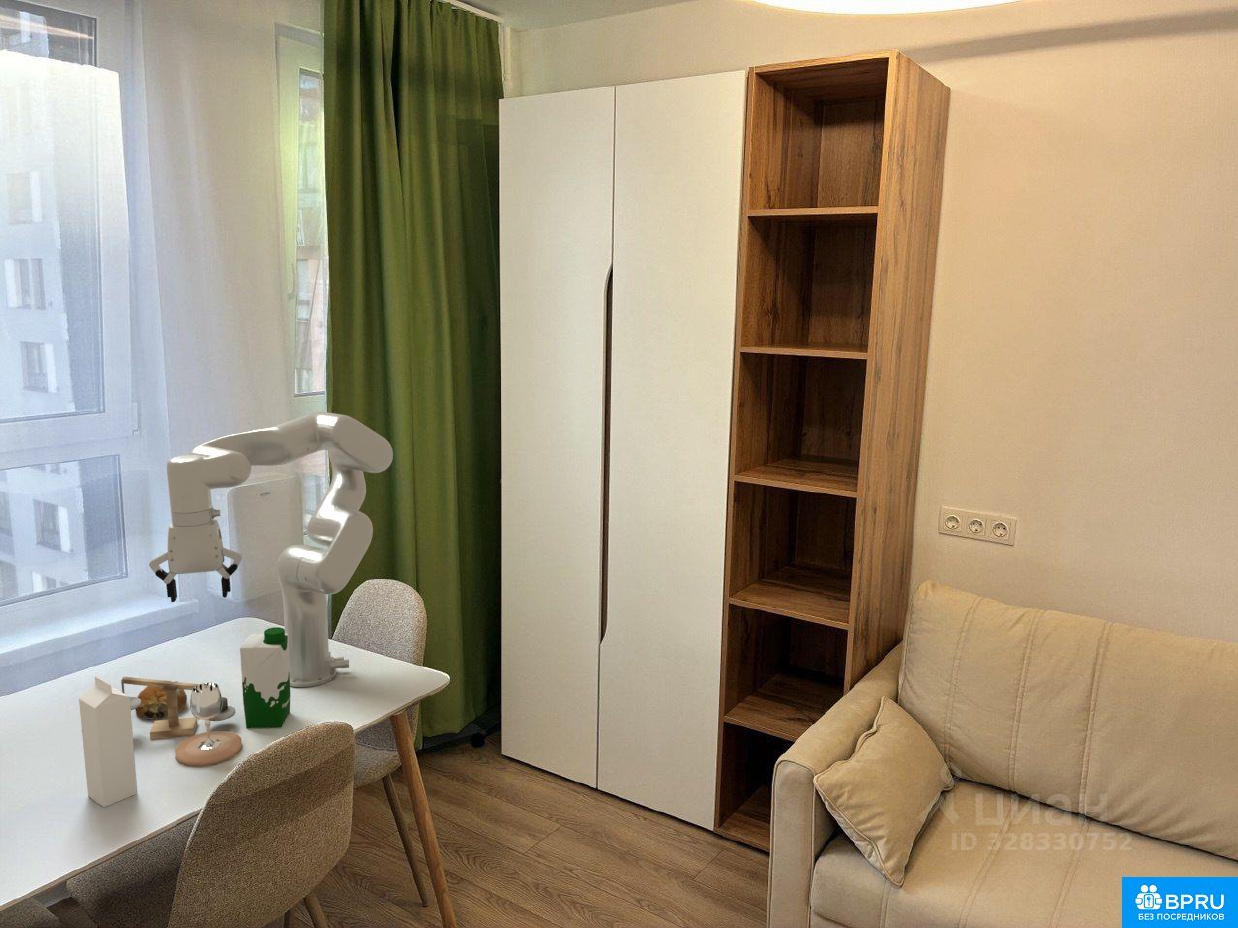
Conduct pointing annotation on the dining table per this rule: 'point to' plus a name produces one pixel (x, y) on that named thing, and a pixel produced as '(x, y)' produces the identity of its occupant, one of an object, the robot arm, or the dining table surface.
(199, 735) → the dish
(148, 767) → the dining table surface
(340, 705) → the dining table surface
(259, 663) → the milk carton
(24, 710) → the dining table surface
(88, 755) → the milk
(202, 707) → the wineglass
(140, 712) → the bread roll
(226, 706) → the balance
